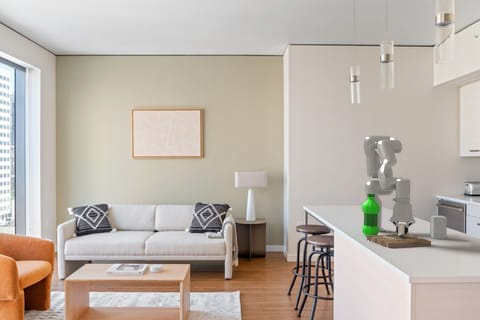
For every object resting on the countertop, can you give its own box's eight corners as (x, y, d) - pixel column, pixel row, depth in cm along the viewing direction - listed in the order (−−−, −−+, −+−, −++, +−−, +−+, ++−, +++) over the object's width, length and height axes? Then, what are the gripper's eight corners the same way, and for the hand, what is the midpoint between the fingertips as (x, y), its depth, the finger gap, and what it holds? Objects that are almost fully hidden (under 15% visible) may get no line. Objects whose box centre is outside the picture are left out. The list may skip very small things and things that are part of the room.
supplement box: (446, 239, 235) (447, 217, 235) (432, 238, 237) (433, 216, 236) (443, 237, 242) (443, 215, 242) (429, 236, 244) (430, 215, 244)
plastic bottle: (371, 234, 248) (372, 192, 248) (383, 237, 238) (384, 194, 238) (357, 235, 245) (358, 193, 244) (369, 238, 235) (369, 194, 235)
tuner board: (366, 239, 231) (366, 234, 231) (406, 238, 238) (406, 233, 237) (388, 247, 212) (388, 242, 212) (431, 245, 218) (431, 240, 218)
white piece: (395, 239, 220) (395, 226, 220) (400, 235, 231) (400, 223, 231) (401, 239, 219) (401, 227, 218) (406, 235, 230) (406, 223, 230)
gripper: (386, 200, 227) (385, 233, 227) (418, 202, 220) (418, 236, 220) (387, 199, 234) (386, 231, 234) (419, 201, 227) (418, 234, 227)
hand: (402, 233), depth 227 cm, fingers closed on white piece, 3 cm apart
